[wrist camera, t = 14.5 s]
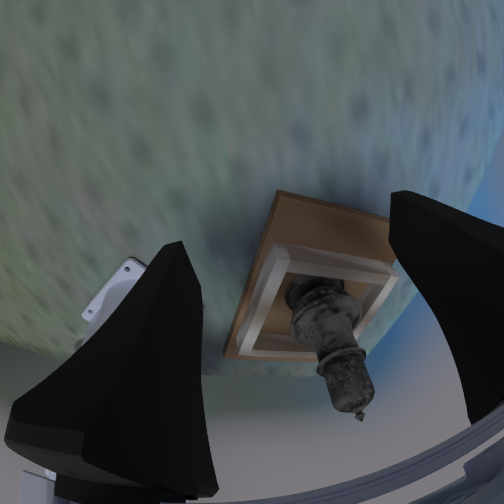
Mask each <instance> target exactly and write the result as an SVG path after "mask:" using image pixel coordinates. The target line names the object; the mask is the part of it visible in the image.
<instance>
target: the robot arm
mask: <svg viewBox="0 0 504 504" xmlns="http://www.w3.org/2000/svg"><path fill="white" fill-rule="evenodd" d="M388 242H389V244H390V246H391V248H392V250H393V252H394V254H395V255H396V257H397V259H398V261H399V262H400V264H401V266H402V267H403V268H404V270H405V271H406V273H407V274H408V276H409V277H410V278H411V280H412V281H413V283H414V284H415V286H416V287H417V288H418V290H419V291H420V293H421V294H422V296H423V297H424V299H425V300H426V302H427V303H428V305H429V306H430V308H431V309H432V311H433V313H434V314H435V316H436V318H437V320H438V322H439V324H440V326H441V329H442V331H443V333H444V335H445V337H446V340H447V342H448V345H449V347H450V350H451V352H452V355H453V358H454V361H455V364H456V366H457V370H458V373H459V377H460V380H461V384H462V388H463V392H464V397H465V402H466V407H467V414H468V418H469V420H470V422H471V425H472V426H471V427H469V428H467V429H465V430H464V431H462V432H460V433H458V434H457V435H455V436H453V437H451V438H450V439H448V440H446V441H444V442H442V443H440V444H439V445H436V446H435V447H433V448H430V449H428V450H426V451H424V452H422V453H420V454H418V455H416V456H414V457H411V458H409V459H407V460H405V461H402V462H400V463H397V464H395V465H392V466H390V467H387V468H385V469H382V470H380V471H377V472H374V473H371V474H368V475H365V476H362V477H359V478H356V479H353V480H350V481H346V482H343V483H340V484H336V485H332V486H328V487H325V488H320V489H317V490H312V491H307V492H303V493H298V494H292V495H287V496H281V497H274V498H267V499H260V500H252V501H241V502H226V503H195V504H357V503H360V502H363V501H366V500H369V499H372V498H375V497H377V496H380V495H383V494H386V493H388V492H391V491H394V490H396V489H398V488H401V487H403V486H406V485H408V484H410V483H412V482H415V481H417V480H419V479H421V478H423V477H425V476H427V475H429V474H431V473H433V472H435V471H437V470H439V469H441V468H443V467H445V466H446V465H448V464H450V463H452V462H453V461H455V460H457V459H458V458H460V457H462V456H464V455H465V454H467V453H469V452H470V451H472V450H473V449H475V448H476V447H478V446H479V445H481V444H483V443H484V442H485V441H487V440H488V439H490V438H491V437H493V436H494V435H495V434H497V433H498V432H500V431H501V430H502V429H503V428H504V228H503V227H500V226H498V225H495V224H492V223H489V222H487V221H484V220H482V219H479V218H477V217H474V216H472V215H469V214H467V213H465V212H462V211H460V210H457V209H455V208H453V207H450V206H448V205H446V204H443V203H441V202H438V201H436V200H433V199H431V198H428V197H426V196H423V195H420V194H417V193H414V192H411V191H407V190H404V191H398V192H393V193H391V205H390V223H389V237H388ZM126 267H129V268H130V269H127V268H126ZM91 310H92V311H91ZM82 317H83V318H84V319H86V320H87V321H89V324H88V327H87V330H86V334H85V337H84V340H83V343H82V346H81V347H80V348H79V349H78V350H77V351H76V352H75V353H74V354H73V355H72V356H71V357H70V358H69V359H68V360H67V361H66V362H65V363H63V364H62V365H61V366H60V367H59V368H58V369H57V370H55V371H54V372H53V373H52V374H51V375H49V376H48V377H47V378H46V379H44V380H43V381H42V382H41V383H39V384H38V385H37V386H35V387H34V388H33V389H31V390H30V391H28V392H27V393H26V394H24V395H23V396H21V397H20V398H18V399H17V400H16V401H14V403H13V405H12V409H11V412H10V416H9V420H8V424H7V428H6V433H5V437H4V441H5V443H6V445H7V446H8V447H9V448H10V449H12V450H13V451H14V452H16V453H17V454H19V455H21V456H23V457H24V458H26V459H28V460H30V461H32V462H34V463H36V464H38V465H40V466H42V467H44V468H45V473H46V475H48V478H46V477H43V476H40V475H37V474H34V473H31V472H28V471H26V470H23V471H22V476H21V484H20V495H19V504H194V503H188V500H198V498H205V497H212V496H214V495H215V494H216V493H217V491H218V490H219V487H218V483H217V479H216V475H215V471H214V466H213V462H212V458H211V452H210V446H209V441H208V435H207V428H206V422H205V414H204V406H203V396H202V386H201V350H202V326H203V305H202V293H201V286H200V283H199V281H198V279H197V276H196V274H195V272H194V269H193V267H192V264H191V262H190V260H189V257H188V255H187V252H186V250H185V247H184V245H183V243H182V241H178V242H174V243H170V244H166V245H164V246H163V247H162V248H161V250H160V251H159V252H158V253H157V255H156V256H155V257H154V259H153V260H152V261H151V263H150V264H149V266H148V267H147V268H146V267H145V266H144V265H142V264H141V263H139V262H138V261H137V260H135V259H133V258H128V259H127V260H126V261H125V262H124V263H123V264H122V265H121V266H120V268H119V269H118V270H117V271H116V272H115V273H114V274H113V276H112V277H111V278H110V279H109V280H108V281H107V283H106V284H105V285H104V286H103V287H102V289H101V290H100V291H99V292H98V293H97V295H96V296H95V297H94V298H93V299H92V301H91V302H90V303H89V304H88V306H87V307H86V308H85V309H84V311H83V313H82ZM463 468H464V470H465V473H466V475H464V476H463V477H461V478H459V479H457V480H456V481H454V482H452V483H450V484H448V485H446V486H445V487H443V488H441V489H439V490H437V491H435V492H432V493H430V494H428V495H426V496H424V497H422V498H420V499H417V500H415V501H413V502H410V503H408V504H504V437H503V438H501V439H500V440H499V441H497V442H496V443H494V444H493V445H491V446H490V447H488V448H487V449H485V450H483V451H482V452H481V453H479V454H477V455H476V456H475V457H473V458H472V459H470V460H469V461H467V462H466V463H465V464H464V466H463Z"/></svg>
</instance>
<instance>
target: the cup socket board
mask: <svg viewBox="0 0 504 504" xmlns="http://www.w3.org/2000/svg"><path fill="white" fill-rule="evenodd" d="M389 223H390V219H388V218H384V217H381V216H378V215H374V214H371V213H367V212H363V211H360V210H356V209H353V208H349V207H345V206H341V205H338V204H334V203H330V202H326V201H322V200H318V199H314V198H310V197H306V196H302V195H297V194H293V193H289V192H285V191H280V190H277V192H276V195H275V198H274V201H273V204H272V207H271V210H270V213H269V216H268V219H267V222H266V225H265V228H264V231H263V234H262V237H261V240H260V243H259V246H258V249H257V252H256V255H255V258H254V261H253V264H252V267H251V270H250V273H249V276H248V279H247V282H246V285H245V288H244V291H243V293H242V296H241V299H240V302H239V305H238V308H237V311H236V314H235V317H234V320H233V323H232V326H231V329H230V332H229V335H228V338H227V341H226V343H225V346H224V349H223V355H224V358H230V359H245V360H264V361H299V362H318V358H317V355H316V352H315V349H314V347H313V346H305V345H302V344H299V343H298V342H296V341H294V339H293V338H292V337H291V334H290V330H289V329H290V323H291V319H292V314H293V311H292V310H291V309H289V307H288V306H287V304H286V301H285V291H286V289H287V287H288V285H289V284H290V283H291V282H292V280H293V279H294V278H296V277H297V276H298V275H300V274H306V275H313V276H321V277H328V278H335V279H343V280H344V291H346V292H347V293H348V294H349V295H350V296H351V297H353V298H355V299H356V300H357V301H358V302H359V303H360V305H361V308H362V316H361V319H360V321H359V323H358V324H357V326H356V327H355V328H354V329H353V330H352V331H353V335H354V337H355V340H356V339H357V338H358V337H359V335H360V334H361V333H362V331H363V330H364V329H365V327H366V326H367V325H368V323H369V322H370V320H371V319H372V318H373V316H374V315H375V313H376V312H377V310H378V309H379V308H380V306H381V305H382V303H383V302H384V300H385V299H386V297H387V296H388V294H389V293H390V291H391V290H392V288H393V287H394V285H395V284H396V282H397V280H398V279H399V275H398V274H397V273H396V271H395V270H394V268H393V267H392V265H393V263H394V261H395V259H396V258H397V257H396V255H395V254H394V252H393V250H392V248H391V246H390V244H389V242H388V237H389Z"/></svg>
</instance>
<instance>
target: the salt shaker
mask: <svg viewBox="0 0 504 504" xmlns="http://www.w3.org/2000/svg"><path fill="white" fill-rule="evenodd" d="M285 301H286V304H287V306H288V307H289V309H291V310H292V311H293V314H292V319H291V323H290V329H289V330H290V334H291V337H292V338H293V339H294V341H296V342H298V343H299V344H302V345H305V346H313V347H314V349H315V352H316V355H317V358H318V362H319V364H318V366H317V373H318V374H319V375H320V376H322V377H324V378H325V381H326V384H327V388H328V391H329V394H330V398H331V401H332V404H333V406H334V408H335V409H337V410H338V411H340V412H345V413H350V412H351V413H355V414H356V416H355V418H357V419H358V420H360V421H363V418H364V415H365V413H363V412H362V410H363V409H364V408H365V406H367V405H368V404H369V403H370V402H371V400H372V399H373V397H374V394H375V391H374V387H373V384H372V382H371V379H370V377H369V374H368V372H367V369H366V367H365V364H364V360H365V358H366V352H365V350H364V349H362V348H359V347H358V344H357V342H356V340H355V337H354V335H353V331H352V330H353V329H354V328H355V327H356V326H357V324H358V323H359V321H360V319H361V316H362V308H361V305H360V303H359V302H358V301H357V300H356V299H355V298H353V297H351V296H350V295H349V294H348V293H347V292H346V291H344V280H343V279H335V278H328V277H321V276H313V275H306V274H300V275H298V276H297V277H296V278H294V279H293V280H292V282H291V283H290V284H289V285H288V287H287V289H286V291H285Z"/></svg>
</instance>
